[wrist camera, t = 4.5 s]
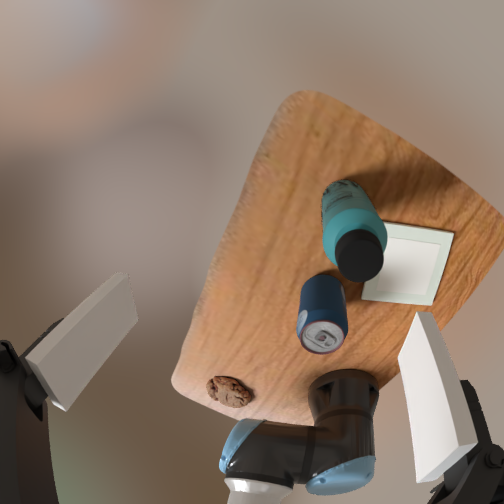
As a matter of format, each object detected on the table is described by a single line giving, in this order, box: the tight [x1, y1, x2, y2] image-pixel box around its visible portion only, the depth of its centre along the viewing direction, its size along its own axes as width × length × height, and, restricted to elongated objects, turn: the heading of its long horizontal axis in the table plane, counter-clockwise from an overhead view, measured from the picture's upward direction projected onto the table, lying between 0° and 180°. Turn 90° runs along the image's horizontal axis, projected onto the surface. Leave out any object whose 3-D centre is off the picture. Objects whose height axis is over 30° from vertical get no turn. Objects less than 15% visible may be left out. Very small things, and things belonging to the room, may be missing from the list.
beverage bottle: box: [321, 179, 388, 282], centre depth 31 cm, size 6×7×20 cm
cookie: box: [206, 376, 251, 408], centre depth 61 cm, size 10×11×3 cm
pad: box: [361, 221, 454, 305], centre depth 41 cm, size 13×13×1 cm
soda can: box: [296, 275, 348, 355], centre depth 41 cm, size 7×7×12 cm
